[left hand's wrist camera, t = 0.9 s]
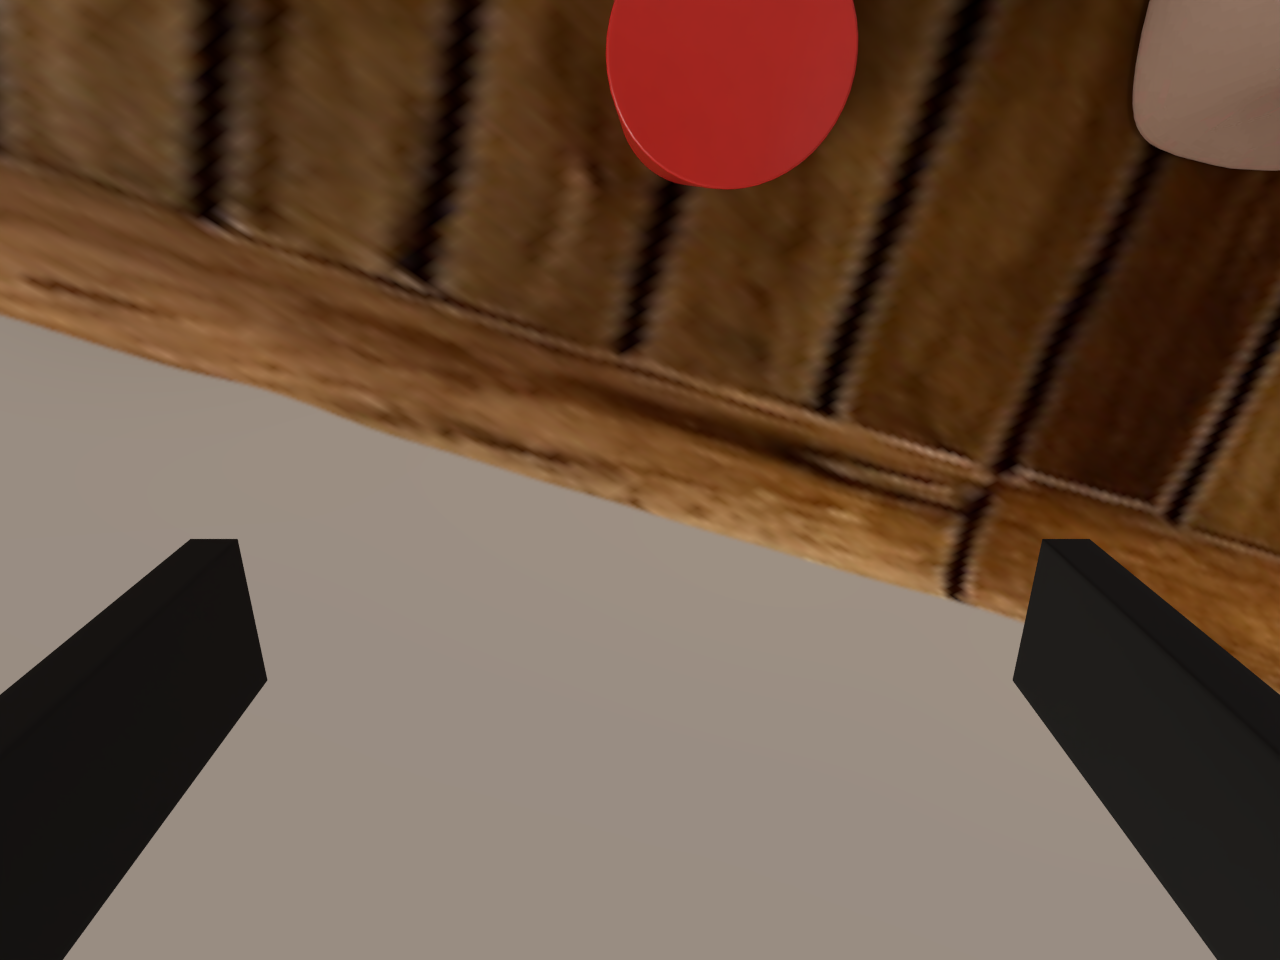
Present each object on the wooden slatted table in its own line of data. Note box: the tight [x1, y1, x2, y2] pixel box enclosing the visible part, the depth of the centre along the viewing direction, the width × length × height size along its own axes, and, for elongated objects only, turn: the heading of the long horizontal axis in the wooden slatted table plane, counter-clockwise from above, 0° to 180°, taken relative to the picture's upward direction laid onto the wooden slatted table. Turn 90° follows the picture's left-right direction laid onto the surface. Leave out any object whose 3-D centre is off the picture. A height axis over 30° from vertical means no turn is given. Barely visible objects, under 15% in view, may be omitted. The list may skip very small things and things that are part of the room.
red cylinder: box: [606, 0, 858, 190], centre depth 23 cm, size 6×6×12 cm
